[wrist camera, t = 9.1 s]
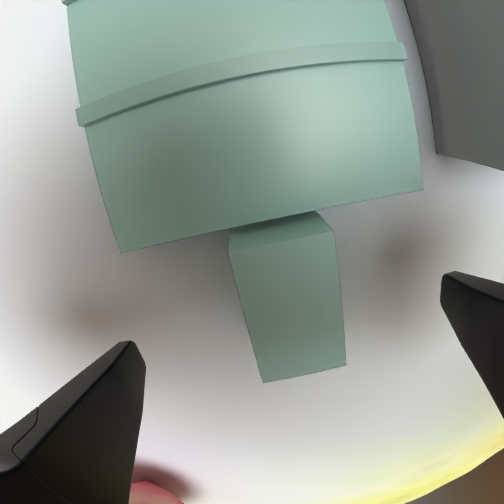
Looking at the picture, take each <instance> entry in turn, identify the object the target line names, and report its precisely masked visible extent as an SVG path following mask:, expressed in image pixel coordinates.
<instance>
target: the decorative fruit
mask: <svg viewBox="0 0 504 504" xmlns="http://www.w3.org/2000/svg"><path fill="white" fill-rule="evenodd" d="M129 504H184V503H183V502H182V501H181V500H180V499H178V498H177V497H176V496H175V495H173V494H172V493H170V492H168V491H167V490H165V489H163V488H161V487H159V486H157V485H155V484H154V483H152V482H150V481H136V482H131V490H130V497H129Z"/></svg>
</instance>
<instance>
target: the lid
mask: <svg viewBox="0 0 504 504" xmlns="http://www.w3.org/2000/svg"><path fill="white" fill-rule="evenodd" d="M62 3H63V4H65V5H67V12H68V24H69V34H70V43H71V51H72V59H73V66H74V72H75V79H76V85H77V90H78V96H79V101H80V108H78V109H76V115H77V120H78V125H79V127H85V131H86V135H87V140H88V144H89V148H90V152H91V156H92V160H93V164H94V168H95V172H96V176H97V179H98V183H99V187H100V190H101V194H102V197H103V200H104V204H105V207H106V210H107V214H108V217H109V220H110V223H111V226H112V229H113V233H114V236H115V239H116V242H117V244H118V247H119V250H120V253H124V252H128V251H132V250H137V249H141V248H145V247H149V246H153V245H158V244H162V243H166V242H171V241H175V240H179V239H184V238H188V237H192V236H197V235H201V234H206V233H210V232H215V231H219V230H224V229H228V228H231V233H230V240H229V247H228V256H229V260H230V264H231V268H232V272H233V275H234V279H235V283H236V287H237V290H238V294H239V298H240V302H241V305H242V309H243V313H244V316H245V320H246V324H247V327H248V331H249V335H250V338H251V342H252V346H253V349H254V353H255V356H256V360H257V364H258V367H259V371H260V374H261V378H262V381H263V383H266V382H272V381H277V380H282V379H288V378H293V377H297V376H302V375H307V374H312V373H316V372H320V371H325V370H329V369H333V368H337V367H341V366H345V365H346V351H345V336H344V323H343V311H342V300H341V289H340V280H339V271H338V262H337V253H336V245H335V238H334V231H333V230H332V229H331V227H330V226H329V225H328V224H327V223H326V222H325V221H324V220H323V218H322V217H321V216H320V215H319V214H318V213H317V212H316V211H315V210H319V209H324V208H329V207H334V206H339V205H344V204H350V203H355V202H360V201H365V200H371V199H376V198H381V197H387V196H392V195H398V194H403V193H409V192H415V191H420V190H423V181H422V171H421V161H420V153H419V145H418V137H417V131H416V124H415V118H414V112H413V107H412V101H411V96H410V91H409V86H408V82H407V77H406V73H405V69H404V64H403V61H404V60H407V59H408V56H407V53H406V49H405V45H404V42H398V41H397V38H396V34H395V31H394V28H393V24H392V21H391V18H390V15H389V12H388V9H387V6H386V3H385V0H62Z"/></svg>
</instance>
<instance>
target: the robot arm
mask: <svg viewBox="0 0 504 504" xmlns="http://www.w3.org/2000/svg"><path fill="white" fill-rule="evenodd" d="M440 303H441V306H442V308H443V310H444V312H445V314H446V316H447V318H448V320H449V322H450V324H451V326H452V328H453V329H454V331H455V333H456V335H457V337H458V339H459V341H460V343H461V345H462V347H463V348H464V350H465V352H466V353H467V355H468V357H469V358H470V360H471V362H472V363H473V365H474V366H475V368H476V370H477V372H478V373H479V375H480V377H481V378H482V380H483V382H484V384H485V385H486V387H487V389H488V391H489V392H490V394H491V396H492V398H493V400H494V401H495V403H496V405H497V407H498V409H499V411H500V413H501V415H502V417H503V419H504V284H503V283H499V282H495V281H491V280H488V279H484V278H480V277H476V276H472V275H469V274H465V273H461V272H457V271H453V272H450V273H446V274H444V275H443V277H442V282H441V294H440ZM145 375H146V365H145V362H144V360H143V358H142V356H141V354H140V352H139V350H138V348H137V346H136V344H135V343H134V342H133V341H122V342H119V343H118V344H116V345H115V346H114V347H113V348H111V349H110V350H109V351H107V352H106V353H105V354H104V355H102V356H101V357H100V358H98V359H97V360H96V361H95V362H93V363H92V364H91V365H90V366H88V367H87V368H86V369H84V370H83V371H82V372H81V373H79V374H78V375H77V376H76V377H74V378H73V379H72V380H70V381H69V382H68V383H67V384H65V385H64V386H63V387H62V388H60V389H59V390H58V391H57V392H55V393H54V394H53V395H51V396H50V397H49V398H48V399H46V400H45V401H44V402H43V403H41V404H40V405H39V407H36V408H35V409H34V410H32V411H31V412H30V413H29V414H27V415H26V416H25V417H23V418H22V419H21V420H20V421H18V422H17V423H16V424H14V425H13V426H11V427H10V428H8V429H7V430H6V431H4V432H3V433H1V434H0V504H129V497H130V490H131V482H132V475H133V468H134V461H135V455H136V448H137V442H138V436H139V430H140V425H141V419H142V412H143V401H144V387H145Z"/></svg>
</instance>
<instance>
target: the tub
mask: <svg viewBox="0 0 504 504" xmlns="http://www.w3.org/2000/svg"><path fill="white" fill-rule="evenodd" d="M404 1H405V4H406V7H407V11H408V14H409V17H410V20H411V23H412V27H413V30H414V34H415V38H416V41H417V45H418V49H419V53H420V57H421V61H422V66H423V70H424V75H425V80H426V85H427V90H428V95H429V101H430V107H431V114H432V120H433V128H434V135H435V144H436V153H437V154H441V155H446V156H450V157H454V158H458V159H462V160H466V161H470V162H474V163H478V164H481V165H485V166H489V167H492V168H495V169H499V170H502V171H504V0H404Z"/></svg>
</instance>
